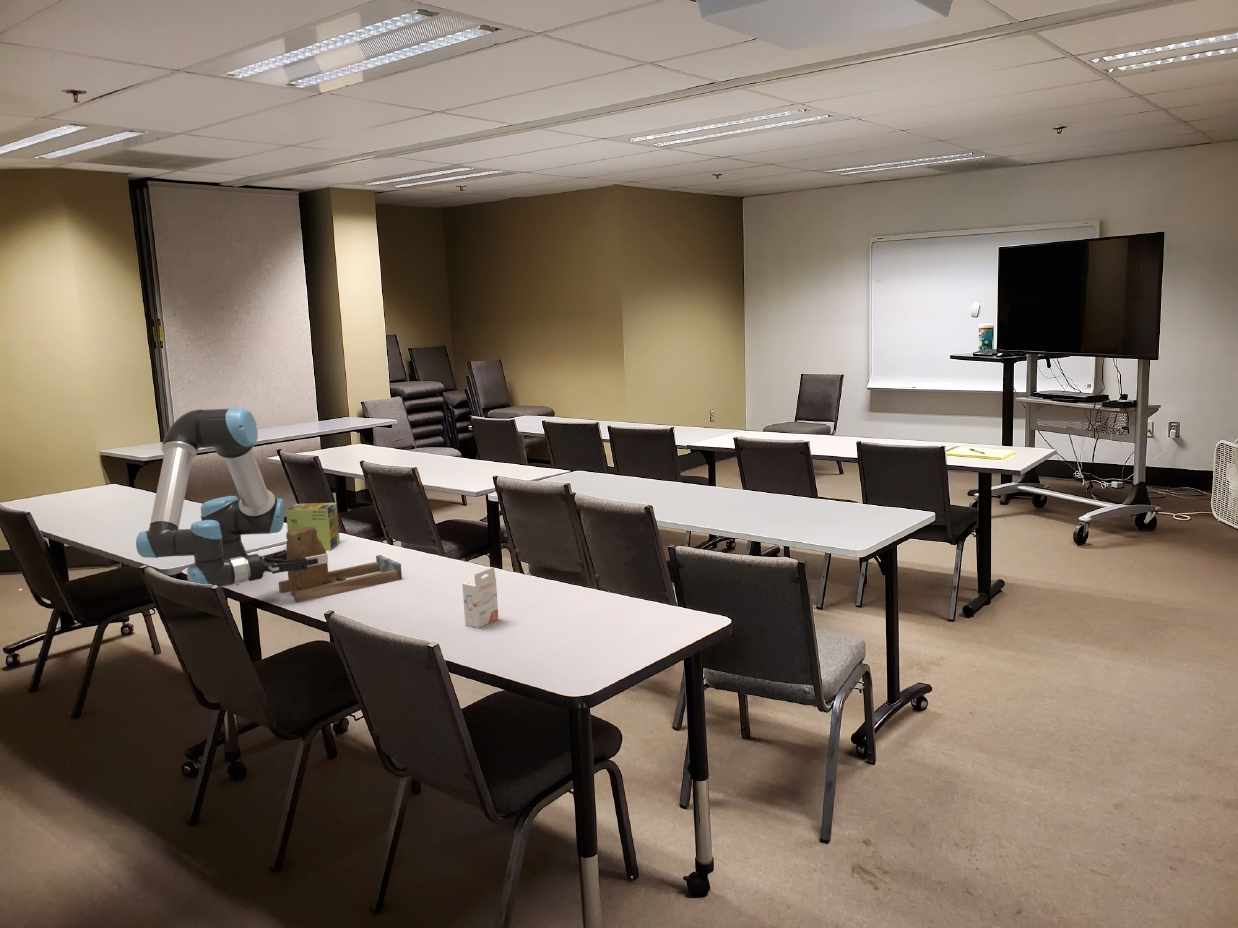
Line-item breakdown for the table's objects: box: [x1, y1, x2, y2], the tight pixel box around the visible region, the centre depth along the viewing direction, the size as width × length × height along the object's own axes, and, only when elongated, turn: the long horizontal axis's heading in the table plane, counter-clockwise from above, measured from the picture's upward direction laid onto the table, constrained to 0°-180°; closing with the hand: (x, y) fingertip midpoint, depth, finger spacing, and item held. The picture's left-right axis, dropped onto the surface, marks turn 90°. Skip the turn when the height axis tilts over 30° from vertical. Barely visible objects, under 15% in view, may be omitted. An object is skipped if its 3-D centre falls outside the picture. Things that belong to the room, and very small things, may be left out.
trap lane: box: [278, 554, 403, 603], centre depth 287 cm, size 15×34×5 cm, turn 129°
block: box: [285, 526, 329, 594], centre depth 279 cm, size 11×8×20 cm
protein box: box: [285, 502, 341, 552], centre depth 334 cm, size 10×15×16 cm
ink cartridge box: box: [462, 567, 499, 629], centre depth 248 cm, size 9×5×15 cm, turn 148°
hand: (320, 554), depth 282 cm, fingers open, 11 cm apart
